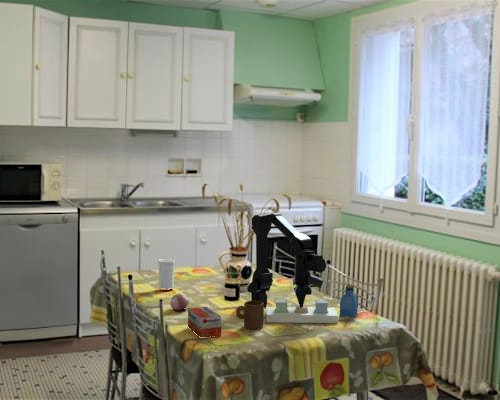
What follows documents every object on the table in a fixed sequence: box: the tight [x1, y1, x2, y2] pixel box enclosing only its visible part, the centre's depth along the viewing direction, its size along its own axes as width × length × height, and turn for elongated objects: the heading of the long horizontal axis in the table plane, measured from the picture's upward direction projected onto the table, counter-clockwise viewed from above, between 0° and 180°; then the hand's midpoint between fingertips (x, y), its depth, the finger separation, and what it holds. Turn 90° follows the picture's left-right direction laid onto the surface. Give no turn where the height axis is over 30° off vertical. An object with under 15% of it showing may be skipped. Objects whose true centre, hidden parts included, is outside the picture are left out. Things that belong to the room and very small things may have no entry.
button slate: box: [314, 299, 329, 313], centre depth 265 cm, size 4×4×4 cm
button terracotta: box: [295, 304, 308, 313], centre depth 266 cm, size 4×4×4 cm
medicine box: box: [187, 306, 222, 338], centre depth 245 cm, size 15×8×8 cm, turn 25°
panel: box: [265, 306, 339, 324], centre depth 266 cm, size 28×12×3 cm, turn 90°
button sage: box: [275, 299, 288, 312], centre depth 265 cm, size 4×4×4 cm
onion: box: [169, 293, 190, 311], centre depth 276 cm, size 8×8×7 cm
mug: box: [235, 300, 265, 330], centre depth 251 cm, size 12×8×9 cm, turn 127°
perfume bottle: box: [339, 285, 359, 319], centre depth 271 cm, size 6×6×12 cm
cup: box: [157, 258, 176, 289], centre depth 310 cm, size 8×8×14 cm
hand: (301, 306), depth 265 cm, fingers closed, pressing on button terracotta
